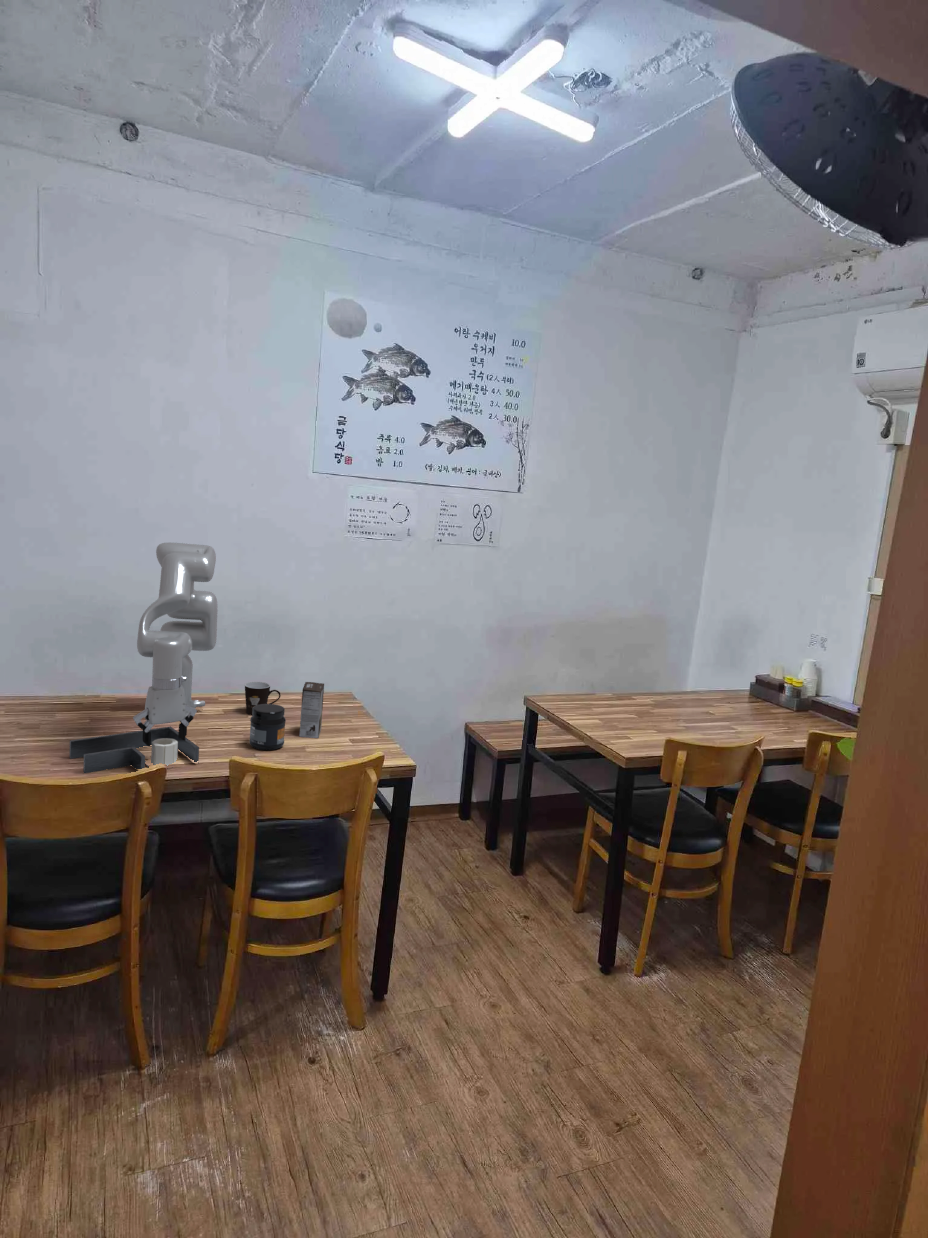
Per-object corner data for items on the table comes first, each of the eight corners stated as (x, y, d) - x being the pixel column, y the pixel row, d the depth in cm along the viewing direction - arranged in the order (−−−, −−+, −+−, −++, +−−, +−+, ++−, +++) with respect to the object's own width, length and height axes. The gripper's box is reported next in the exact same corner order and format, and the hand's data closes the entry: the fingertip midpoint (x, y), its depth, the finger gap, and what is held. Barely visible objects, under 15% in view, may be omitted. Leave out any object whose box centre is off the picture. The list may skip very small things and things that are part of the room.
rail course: (170, 742, 231) (170, 726, 230) (198, 764, 217) (199, 747, 216) (69, 757, 212) (69, 740, 211) (93, 782, 198) (93, 764, 197)
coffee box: (302, 728, 256) (305, 681, 253) (321, 729, 257) (325, 682, 254) (298, 737, 247) (301, 688, 244) (318, 738, 248) (322, 690, 245)
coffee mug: (237, 713, 264) (239, 685, 263) (253, 707, 272) (255, 680, 271) (265, 720, 260) (267, 691, 259) (280, 714, 268) (282, 686, 266)
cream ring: (170, 757, 219) (171, 737, 218) (180, 764, 215) (180, 743, 214) (148, 760, 215) (148, 740, 214) (157, 768, 210) (157, 747, 209)
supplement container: (290, 743, 241) (292, 706, 239) (274, 753, 231) (276, 715, 229) (259, 737, 243) (261, 701, 241) (242, 747, 233) (244, 709, 231)
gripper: (191, 675, 219) (189, 732, 223) (129, 682, 208) (128, 742, 211) (203, 682, 214) (200, 740, 217) (139, 690, 202) (138, 751, 206)
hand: (164, 741), depth 214 cm, fingers open, 9 cm apart
